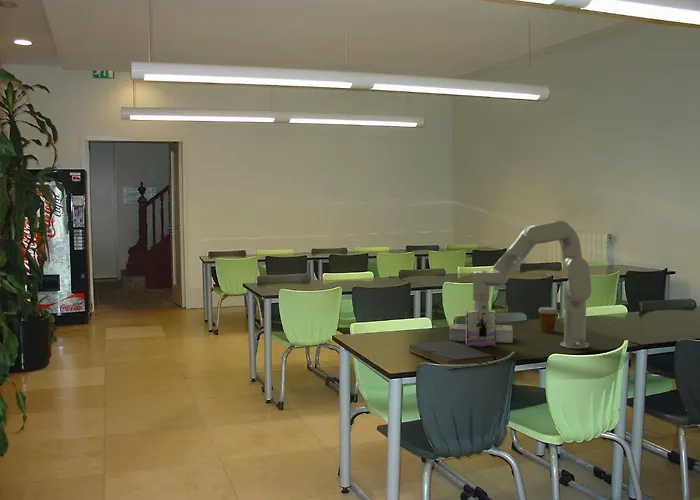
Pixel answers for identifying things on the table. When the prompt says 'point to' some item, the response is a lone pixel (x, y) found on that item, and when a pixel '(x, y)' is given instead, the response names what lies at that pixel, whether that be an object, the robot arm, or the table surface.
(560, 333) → the table surface
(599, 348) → the table surface
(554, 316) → the disposable coffee cup
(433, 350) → the file folder
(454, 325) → the label stand
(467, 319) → the candy box
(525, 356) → the table surface
